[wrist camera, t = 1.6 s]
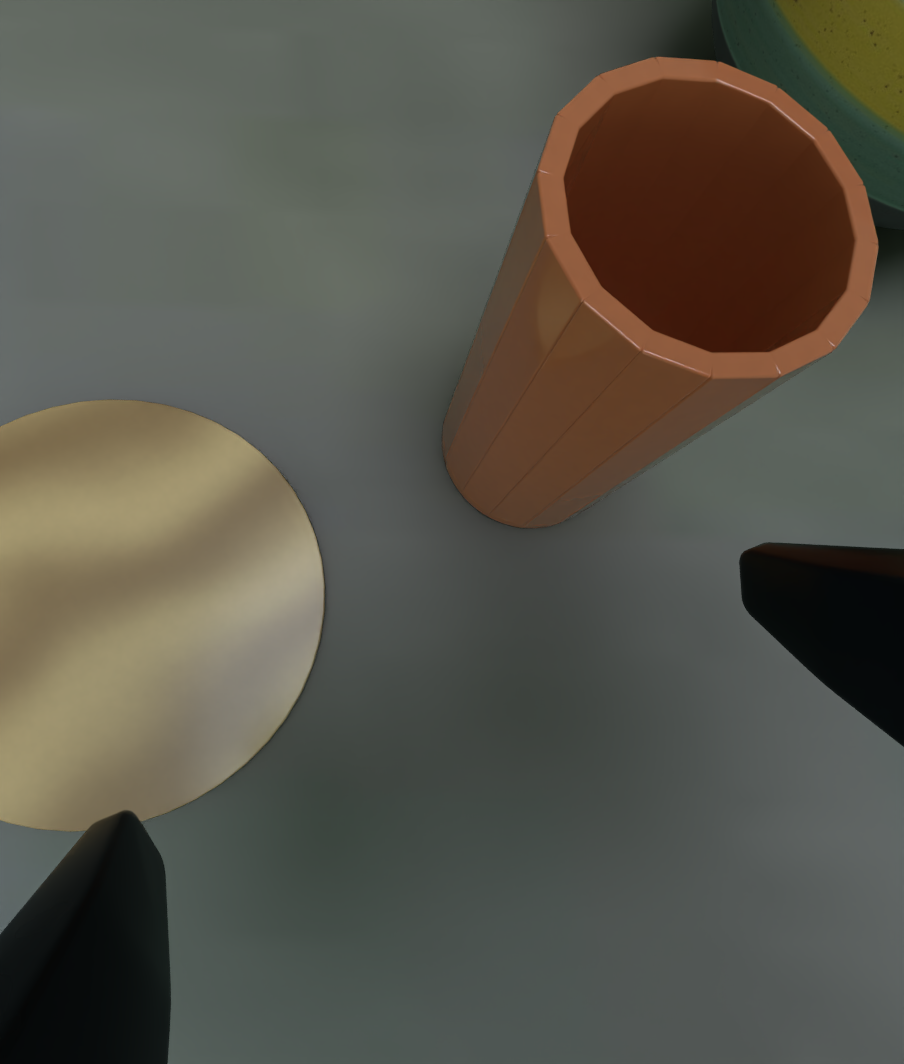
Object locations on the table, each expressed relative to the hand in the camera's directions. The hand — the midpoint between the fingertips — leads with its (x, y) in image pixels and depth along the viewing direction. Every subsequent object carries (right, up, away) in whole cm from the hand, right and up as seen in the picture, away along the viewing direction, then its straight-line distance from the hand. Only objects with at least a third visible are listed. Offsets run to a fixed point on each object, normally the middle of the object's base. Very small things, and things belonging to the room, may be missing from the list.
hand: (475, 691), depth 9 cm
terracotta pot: (+3, +6, +15) cm, 17 cm away
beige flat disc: (-12, 0, +12) cm, 17 cm away
